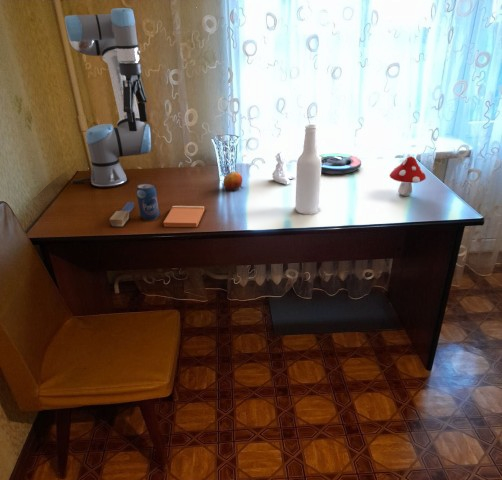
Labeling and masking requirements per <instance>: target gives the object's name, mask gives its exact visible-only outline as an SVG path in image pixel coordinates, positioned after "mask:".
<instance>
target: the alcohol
mask: <svg viewBox="0 0 502 480" xmlns="http://www.w3.org/2000/svg"><path fill="white" fill-rule="evenodd" d="M317 129H318V126H317V125H316V124H306V125H305V129H304V139H303V140H304V141H303V143H304V144H303V151H302V153H301V154H300V155H299V157H298V158H297V162H296V179H295V180H296V181H295V210H296V212H298V213H299V214H302V215H303V214H304V215H311V214H312V215H313V214H315V213H317V212H318V211H319V209H320V194H321V178H322V172H321V166H322V163H321V158H320V157H319V155H320V154H319V153H318V151H317V150H318V149H317V131H318V130H317Z"/></svg>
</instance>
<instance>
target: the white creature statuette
mask: <svg viewBox="0 0 502 480" xmlns="http://www.w3.org/2000/svg"><path fill="white" fill-rule="evenodd" d="M274 157H275V161H276V162H277V164H276V165H275V169H274V171H273V172H272V175H271V176H272V177H271V178H272V179H273V180H274V182H276V183H280V184H283V185H289V184H290V181H291V180H294V174H293V173H291V172H288V171H287V166H286V162H287V159H286V156H285V154H284V152H283V151H280V152H278V153H276V155H275V156H274Z"/></svg>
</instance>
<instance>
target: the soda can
mask: <svg viewBox="0 0 502 480" xmlns="http://www.w3.org/2000/svg"><path fill="white" fill-rule="evenodd" d="M136 187H137V188H136V191H135V192H136V198H137V205H138V210H139V215H140V217H141V219H142V220H143V221H155V220H157V219H158V217H159V215H160V210H159V203H158V195H157V190H156V187H155V186H154V183H150V182H145V183H143V182H142V183H140V184H138V185H137V186H136Z"/></svg>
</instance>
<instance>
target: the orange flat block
mask: <svg viewBox="0 0 502 480" xmlns="http://www.w3.org/2000/svg"><path fill="white" fill-rule="evenodd" d="M204 213H205V206H203V205H172V207H171V209H170V211H169V213H168V214H167V216H166V217H165V219H164V221H163V222H162V223H163V227H165V228H168V227H169V228H170V227H171V228H197V227H198V225H199V223H200V221H201V219H202V217H203V214H204Z"/></svg>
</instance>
